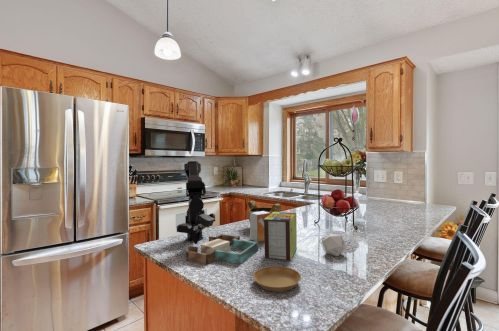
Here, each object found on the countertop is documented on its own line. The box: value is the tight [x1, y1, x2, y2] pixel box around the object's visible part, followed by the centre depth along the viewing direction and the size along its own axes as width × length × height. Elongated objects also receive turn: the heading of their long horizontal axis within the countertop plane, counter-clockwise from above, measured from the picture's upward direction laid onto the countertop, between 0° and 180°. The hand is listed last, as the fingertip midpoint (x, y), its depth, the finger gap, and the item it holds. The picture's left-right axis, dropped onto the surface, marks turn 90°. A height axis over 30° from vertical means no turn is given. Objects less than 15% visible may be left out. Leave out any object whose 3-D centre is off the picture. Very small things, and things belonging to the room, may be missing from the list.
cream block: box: [200, 239, 231, 254], centre depth 111 cm, size 7×10×4 cm
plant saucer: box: [252, 265, 302, 293], centre depth 82 cm, size 15×15×3 cm
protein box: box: [263, 211, 298, 262], centre depth 108 cm, size 10×15×16 cm
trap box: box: [185, 233, 259, 265], centre depth 109 cm, size 24×26×4 cm
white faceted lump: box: [321, 232, 347, 257], centre depth 106 cm, size 8×9×10 cm
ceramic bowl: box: [247, 200, 282, 223], centre depth 147 cm, size 22×17×15 cm
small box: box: [249, 211, 271, 243], centre depth 127 cm, size 8×6×13 cm
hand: (196, 243), depth 115 cm, fingers closed
